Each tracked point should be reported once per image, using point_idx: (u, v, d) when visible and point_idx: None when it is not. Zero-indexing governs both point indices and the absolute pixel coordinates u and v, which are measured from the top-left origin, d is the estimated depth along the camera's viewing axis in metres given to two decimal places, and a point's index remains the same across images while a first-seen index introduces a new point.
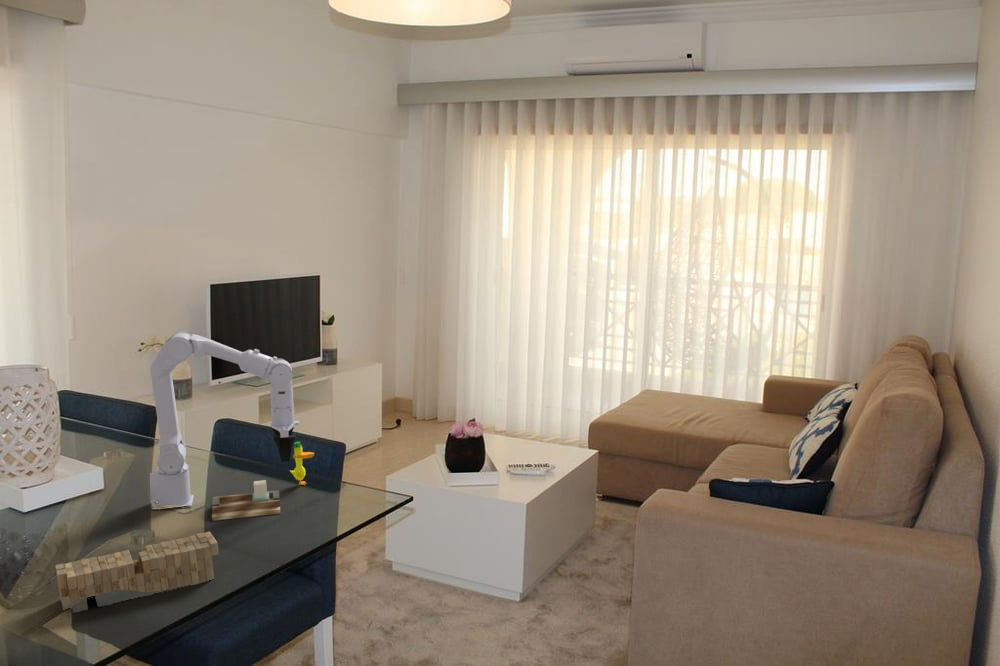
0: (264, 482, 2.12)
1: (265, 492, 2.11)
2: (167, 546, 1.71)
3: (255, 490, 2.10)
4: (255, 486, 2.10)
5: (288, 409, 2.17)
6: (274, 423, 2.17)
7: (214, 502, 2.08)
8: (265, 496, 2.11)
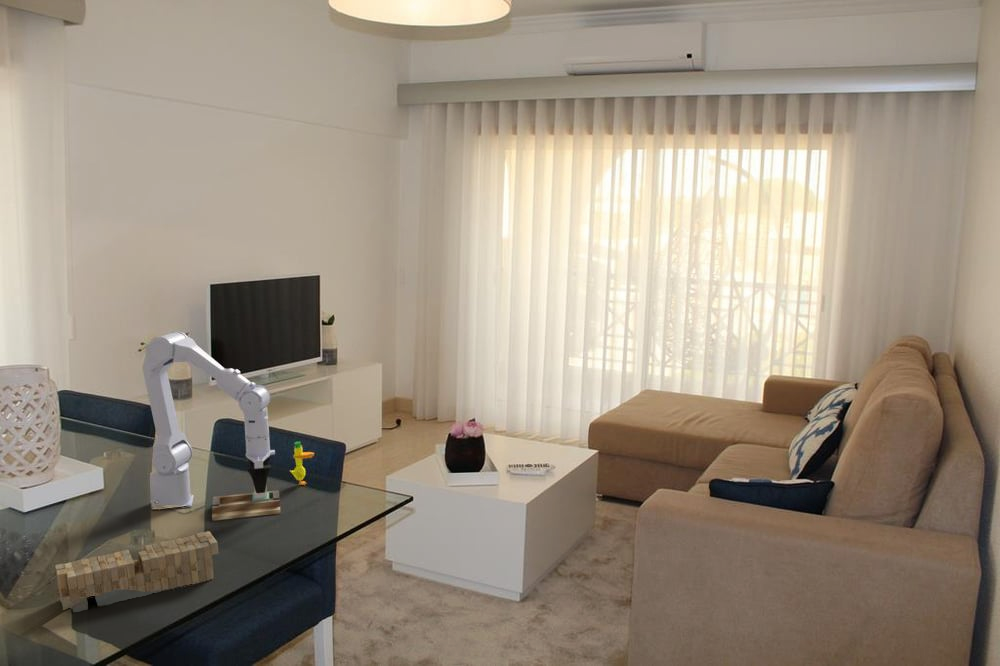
0: None
1: (265, 492, 2.11)
2: (167, 545, 1.71)
3: None
4: None
5: (263, 438, 2.08)
6: (248, 453, 2.08)
7: (214, 502, 2.08)
8: (265, 496, 2.11)
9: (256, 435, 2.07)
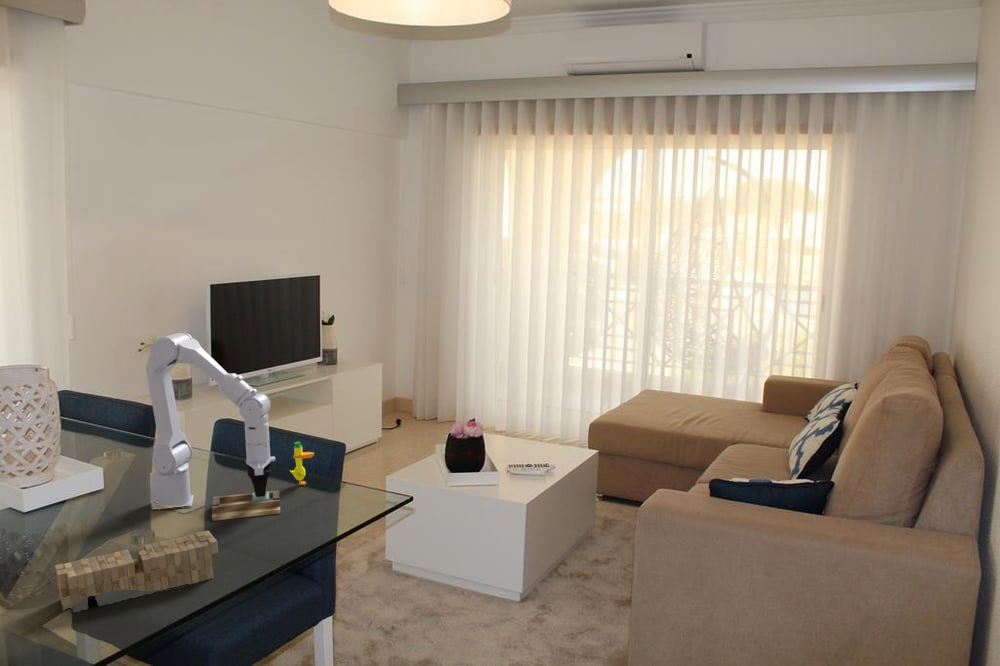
0: None
1: None
2: (167, 545, 1.71)
3: None
4: None
5: (263, 445, 2.08)
6: (249, 459, 2.08)
7: (214, 502, 2.08)
8: (265, 496, 2.11)
9: (256, 442, 2.07)
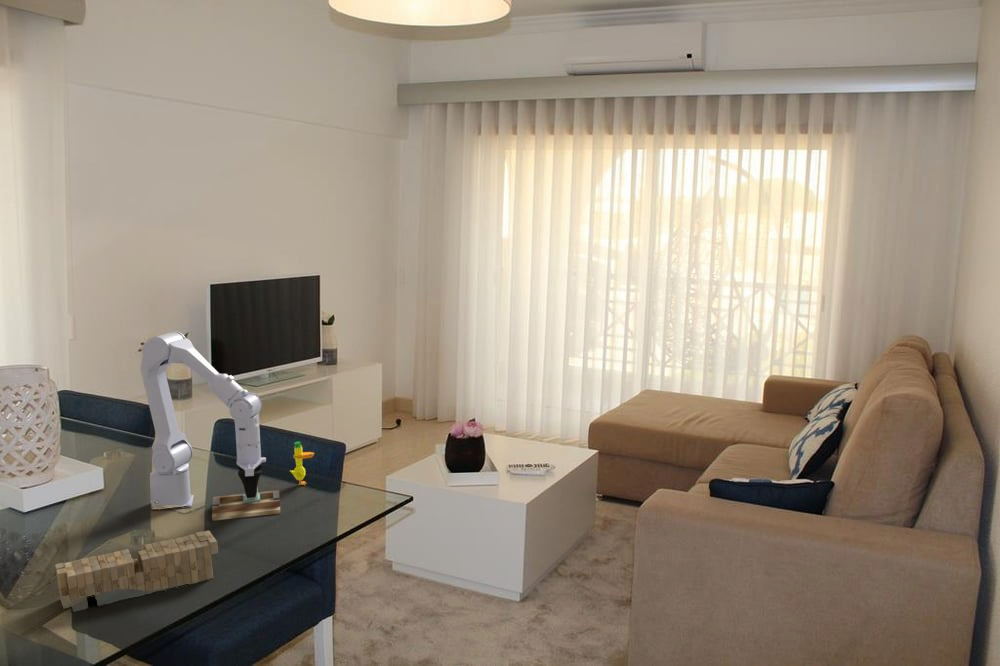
0: None
1: (256, 493, 2.10)
2: (167, 545, 1.72)
3: None
4: None
5: (254, 446, 2.08)
6: (239, 460, 2.08)
7: (214, 502, 2.08)
8: (256, 497, 2.11)
9: (246, 443, 2.07)
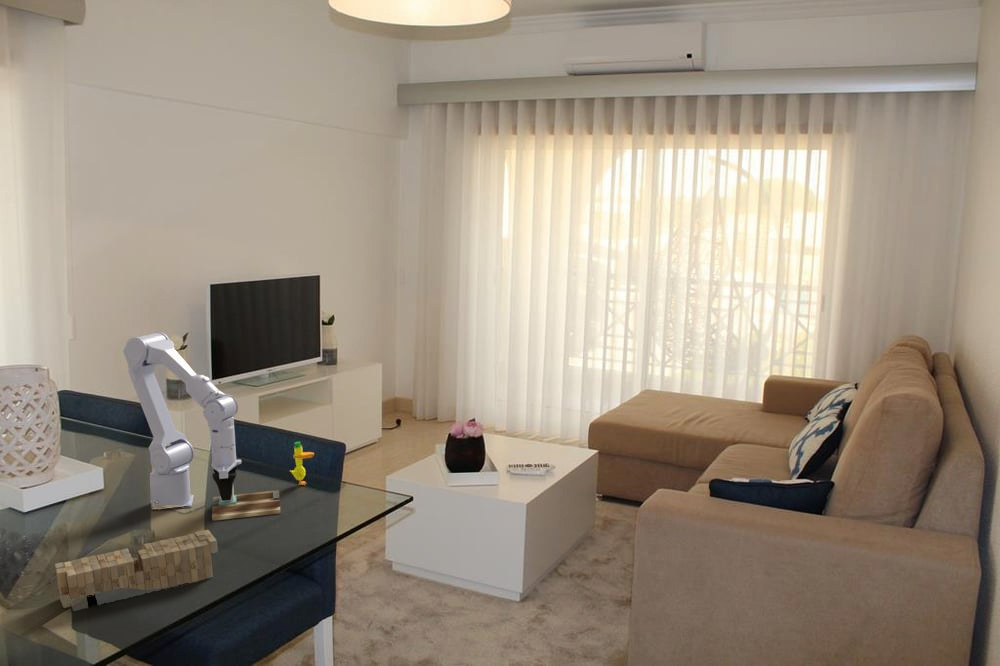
0: None
1: (232, 495, 2.09)
2: (167, 544, 1.72)
3: None
4: None
5: (229, 448, 2.06)
6: (214, 463, 2.06)
7: (214, 502, 2.08)
8: (232, 499, 2.09)
9: (219, 445, 2.05)
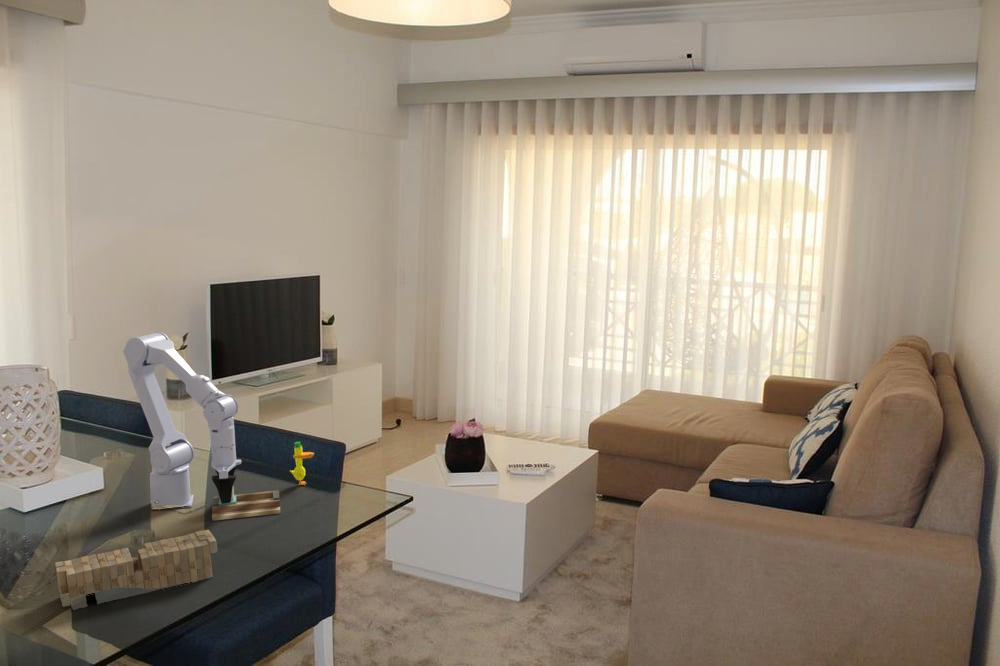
0: None
1: (232, 495, 2.09)
2: (167, 543, 1.72)
3: None
4: None
5: (229, 448, 2.06)
6: (214, 463, 2.06)
7: (214, 502, 2.08)
8: (232, 499, 2.09)
9: (219, 445, 2.05)
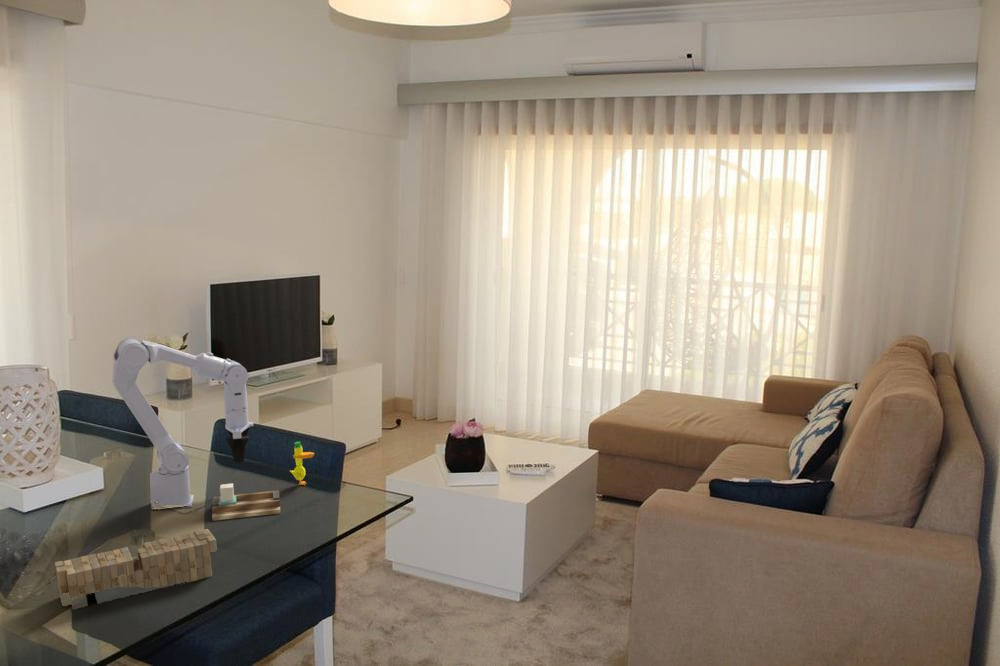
0: (231, 485, 2.10)
1: (232, 495, 2.09)
2: (166, 543, 1.73)
3: (221, 493, 2.08)
4: (221, 489, 2.08)
5: (241, 410, 2.18)
6: (228, 424, 2.18)
7: (214, 502, 2.08)
8: (232, 499, 2.09)
9: (242, 406, 2.18)
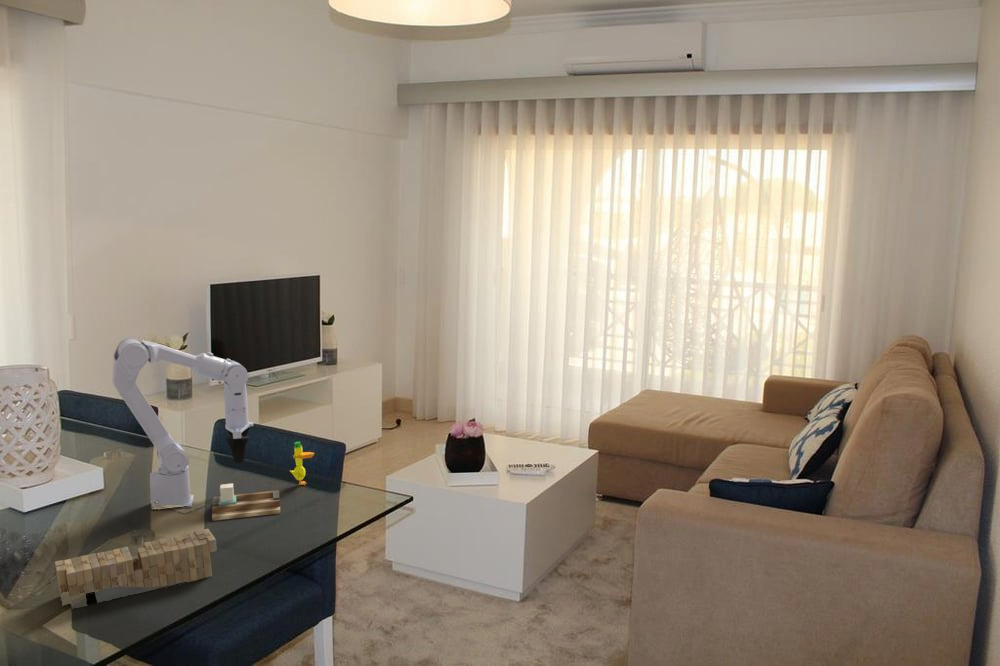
0: (231, 485, 2.10)
1: (232, 495, 2.09)
2: (166, 542, 1.73)
3: (221, 493, 2.08)
4: (221, 489, 2.08)
5: (242, 410, 2.18)
6: (228, 424, 2.19)
7: (214, 502, 2.08)
8: (232, 499, 2.09)
9: (242, 406, 2.18)
